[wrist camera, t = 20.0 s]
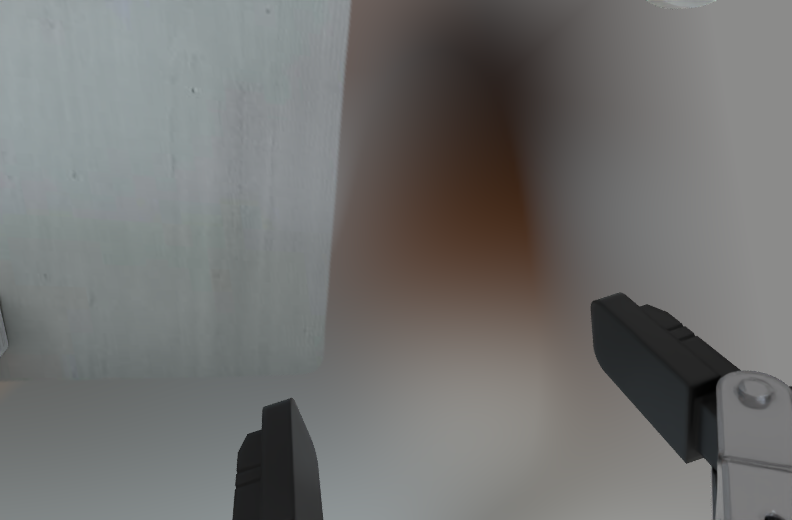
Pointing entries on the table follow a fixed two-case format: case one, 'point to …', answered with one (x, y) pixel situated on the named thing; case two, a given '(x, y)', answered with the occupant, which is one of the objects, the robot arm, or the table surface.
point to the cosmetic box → (2, 336)
